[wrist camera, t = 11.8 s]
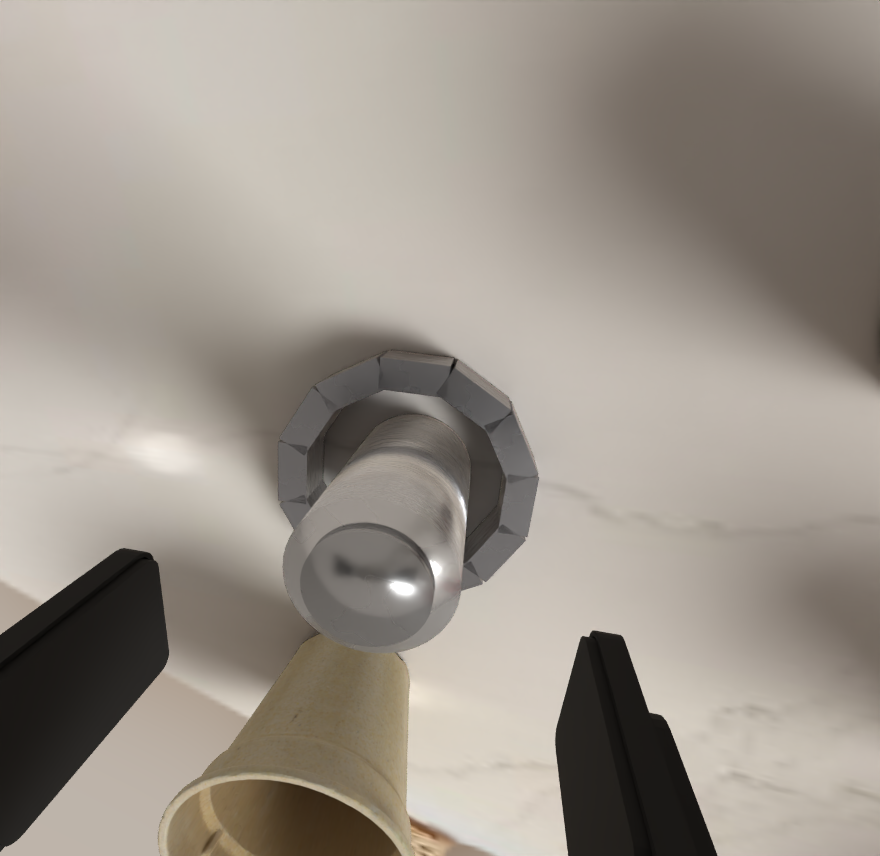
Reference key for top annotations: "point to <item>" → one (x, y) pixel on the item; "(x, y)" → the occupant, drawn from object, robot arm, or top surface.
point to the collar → (422, 377)
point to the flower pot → (307, 766)
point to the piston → (385, 540)
